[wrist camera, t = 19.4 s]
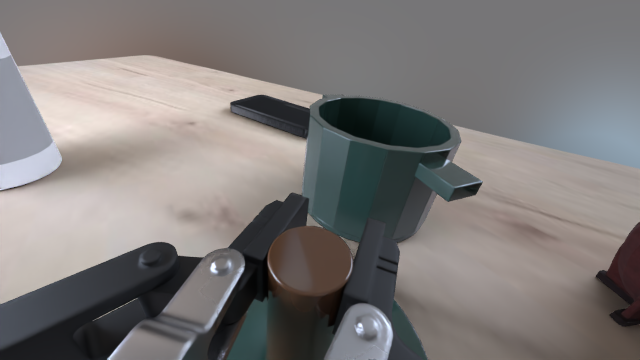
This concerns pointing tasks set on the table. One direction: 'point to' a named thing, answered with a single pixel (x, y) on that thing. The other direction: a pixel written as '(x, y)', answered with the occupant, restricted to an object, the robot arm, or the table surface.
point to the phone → (274, 113)
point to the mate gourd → (626, 278)
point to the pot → (379, 165)
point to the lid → (304, 300)
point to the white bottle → (21, 130)
